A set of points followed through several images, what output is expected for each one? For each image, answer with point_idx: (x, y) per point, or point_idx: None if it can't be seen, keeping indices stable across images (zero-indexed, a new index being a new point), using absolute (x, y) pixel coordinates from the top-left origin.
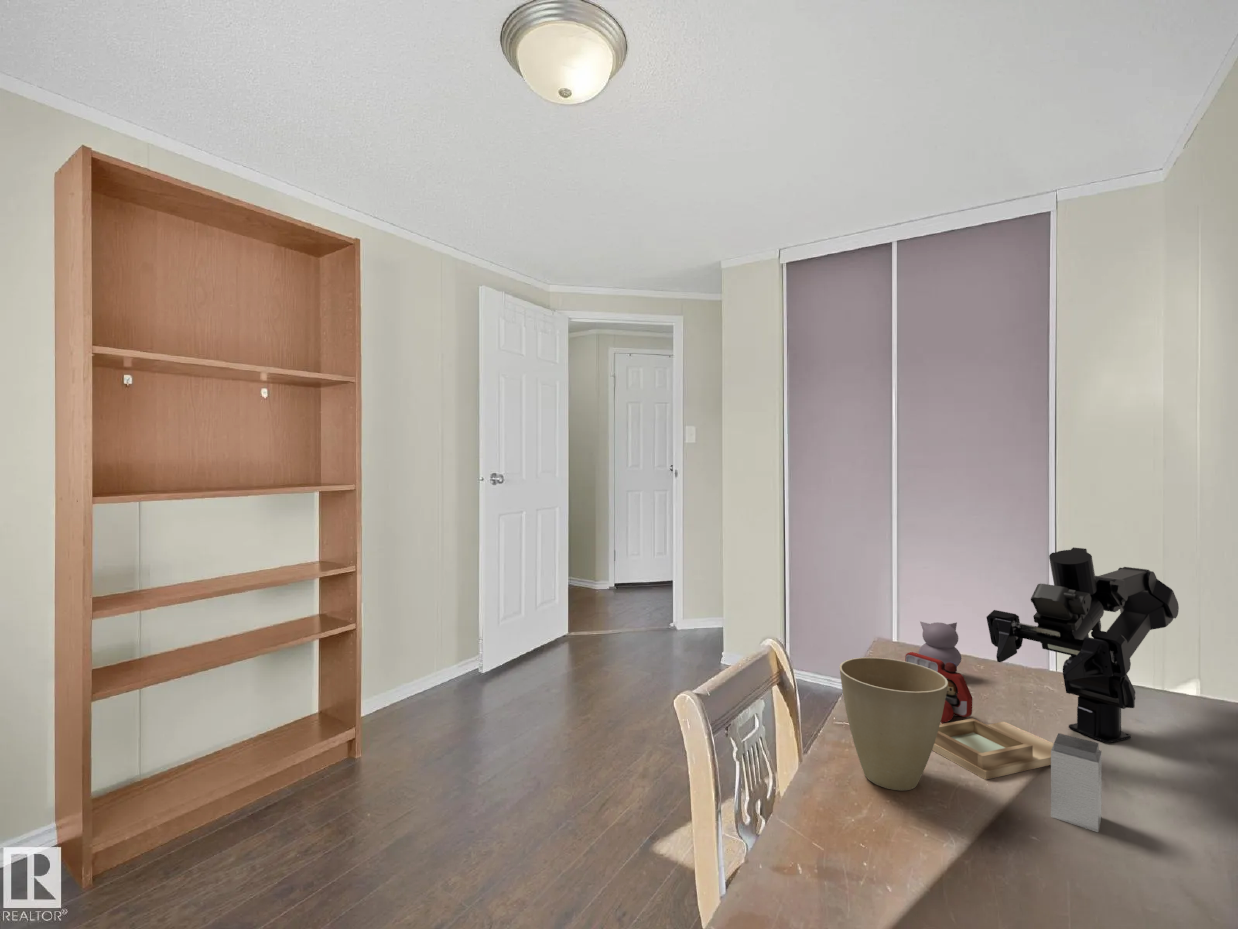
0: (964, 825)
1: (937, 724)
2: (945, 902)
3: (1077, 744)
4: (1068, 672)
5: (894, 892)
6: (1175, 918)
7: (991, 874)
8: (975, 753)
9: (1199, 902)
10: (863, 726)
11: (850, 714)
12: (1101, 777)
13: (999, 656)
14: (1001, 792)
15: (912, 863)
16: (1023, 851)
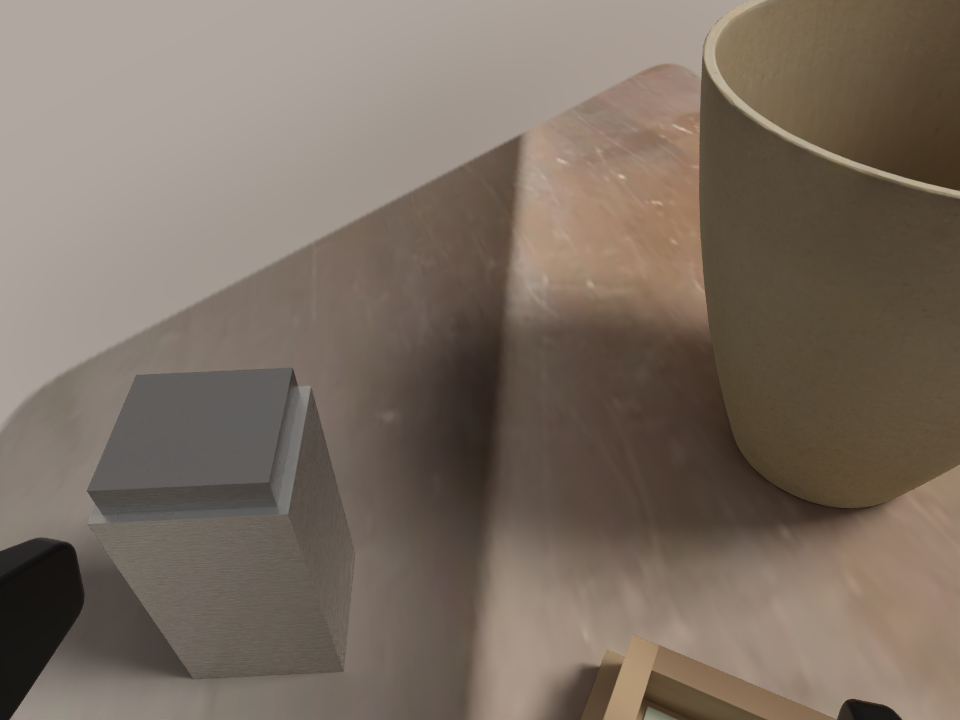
0: (541, 359)
1: (701, 226)
2: (483, 179)
3: (194, 414)
4: (1, 551)
5: (551, 159)
6: (132, 337)
7: (442, 259)
8: (672, 654)
9: (58, 411)
10: (875, 167)
11: (955, 161)
12: (137, 594)
13: (849, 712)
14: (523, 606)
15: (564, 212)
16: (402, 352)
